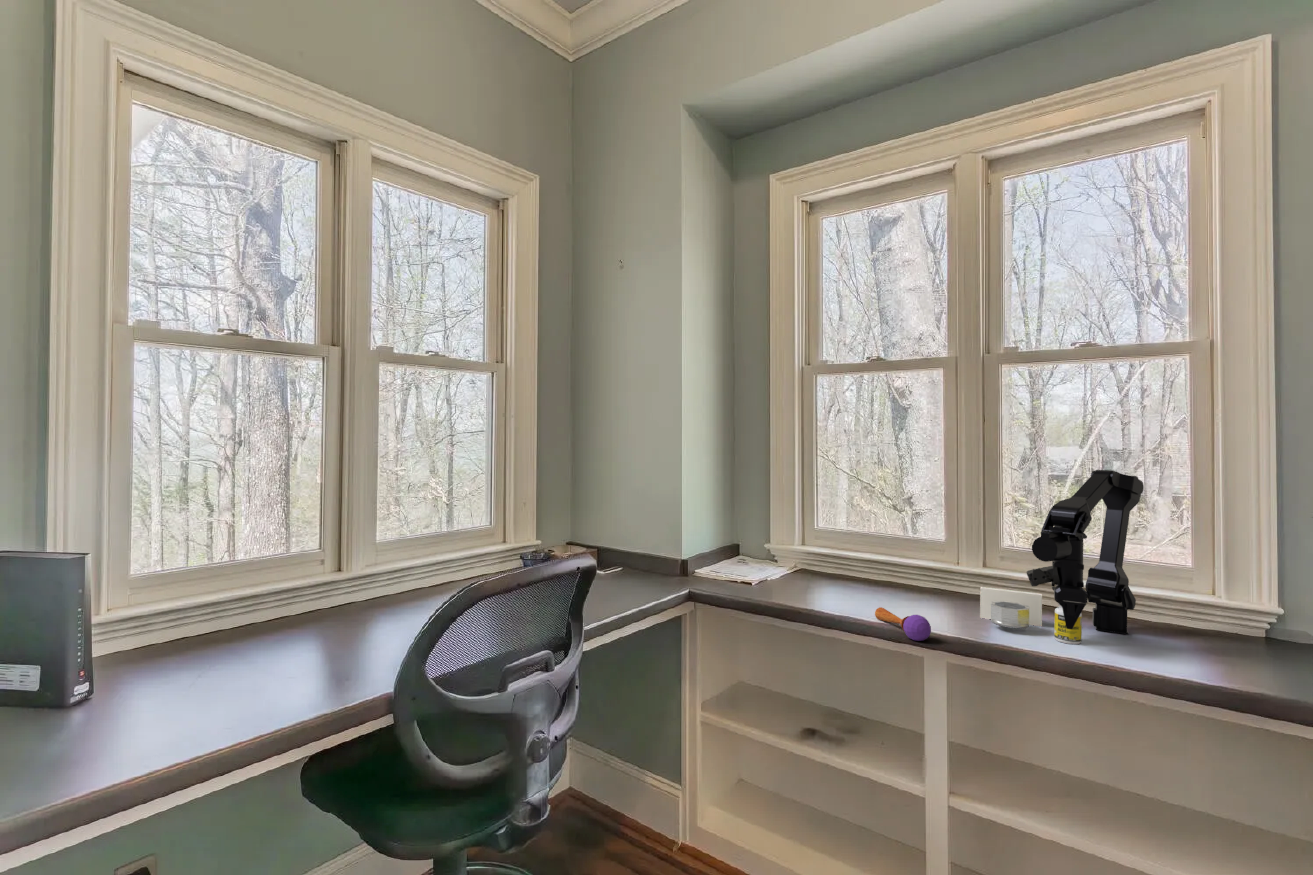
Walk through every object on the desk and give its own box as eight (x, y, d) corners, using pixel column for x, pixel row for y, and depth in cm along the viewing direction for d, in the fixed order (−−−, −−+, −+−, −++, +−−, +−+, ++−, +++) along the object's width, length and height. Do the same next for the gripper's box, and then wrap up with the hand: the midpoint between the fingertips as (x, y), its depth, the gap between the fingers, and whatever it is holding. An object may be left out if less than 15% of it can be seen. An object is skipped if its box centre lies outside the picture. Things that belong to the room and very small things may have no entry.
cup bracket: (1028, 619, 160) (1028, 601, 160) (1029, 630, 150) (1029, 611, 150) (992, 614, 164) (992, 597, 164) (990, 624, 154) (990, 606, 154)
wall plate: (1041, 624, 160) (1041, 593, 160) (1041, 626, 158) (1042, 595, 158) (980, 616, 167) (980, 586, 167) (980, 618, 166) (980, 588, 166)
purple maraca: (892, 604, 164) (937, 619, 145) (889, 626, 164) (934, 645, 144) (872, 600, 164) (914, 615, 144) (868, 623, 163) (910, 641, 143)
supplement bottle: (1053, 641, 146) (1054, 600, 146) (1054, 636, 151) (1054, 595, 151) (1081, 646, 143) (1082, 603, 143) (1081, 640, 148) (1081, 599, 148)
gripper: (1028, 549, 159) (1027, 609, 159) (1029, 560, 143) (1028, 628, 143) (1081, 553, 154) (1080, 616, 154) (1088, 566, 138) (1087, 636, 137)
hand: (1067, 623), depth 147 cm, fingers open, 9 cm apart
